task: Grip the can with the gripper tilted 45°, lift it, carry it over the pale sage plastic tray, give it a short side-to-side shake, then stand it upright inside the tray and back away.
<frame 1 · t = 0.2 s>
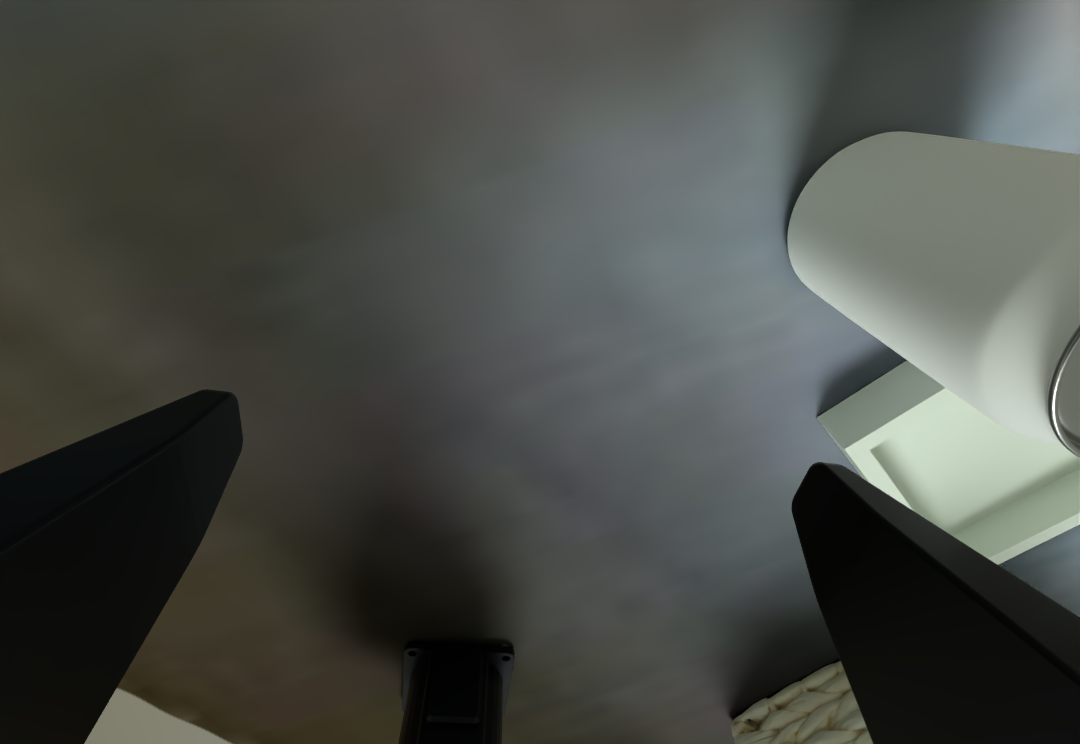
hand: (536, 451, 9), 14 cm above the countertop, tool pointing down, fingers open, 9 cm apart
can: (861, 218, 22), on the countertop
tray: (986, 423, 26), on the countertop
storage basket: (889, 726, 39), on the countertop
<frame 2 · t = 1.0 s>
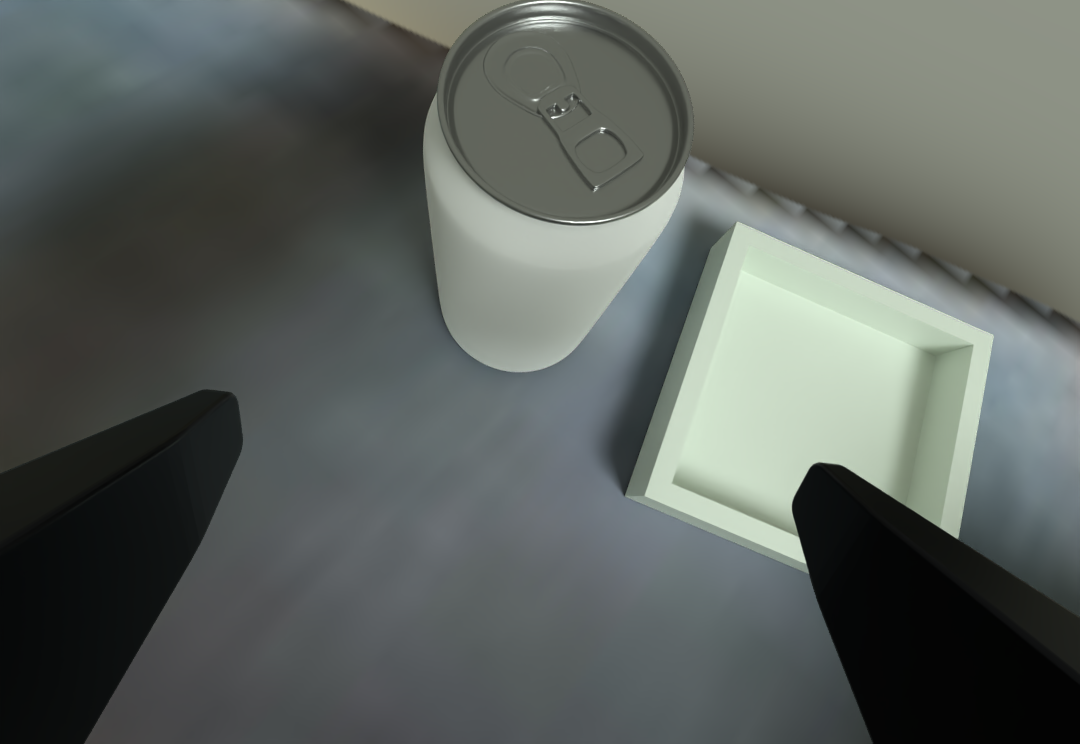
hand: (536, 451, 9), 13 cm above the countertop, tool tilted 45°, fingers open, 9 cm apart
can: (516, 303, 23), on the countertop
tray: (796, 418, 24), on the countertop
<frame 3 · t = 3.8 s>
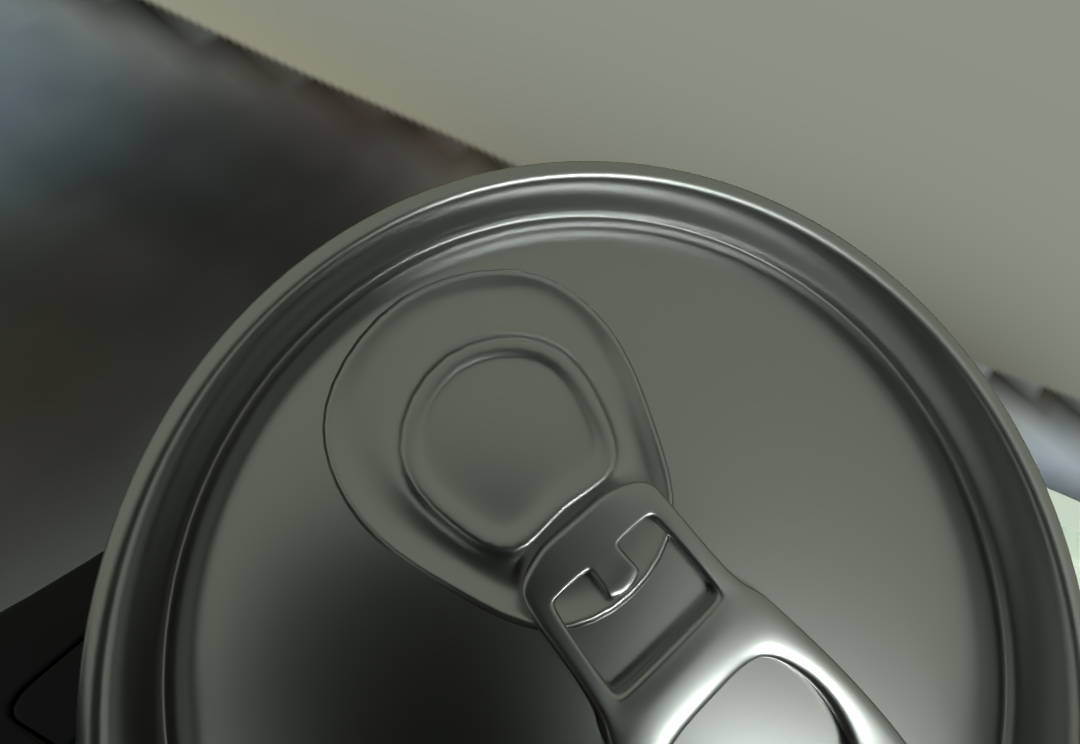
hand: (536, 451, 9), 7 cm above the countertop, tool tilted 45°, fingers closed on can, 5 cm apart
can: (499, 527, 15), on the countertop, touching gripper
tray: (943, 704, 15), on the countertop
when the fingers open (8 cm above the countertop, at t = 9.1 s): can drops 1 cm, resting on tray.
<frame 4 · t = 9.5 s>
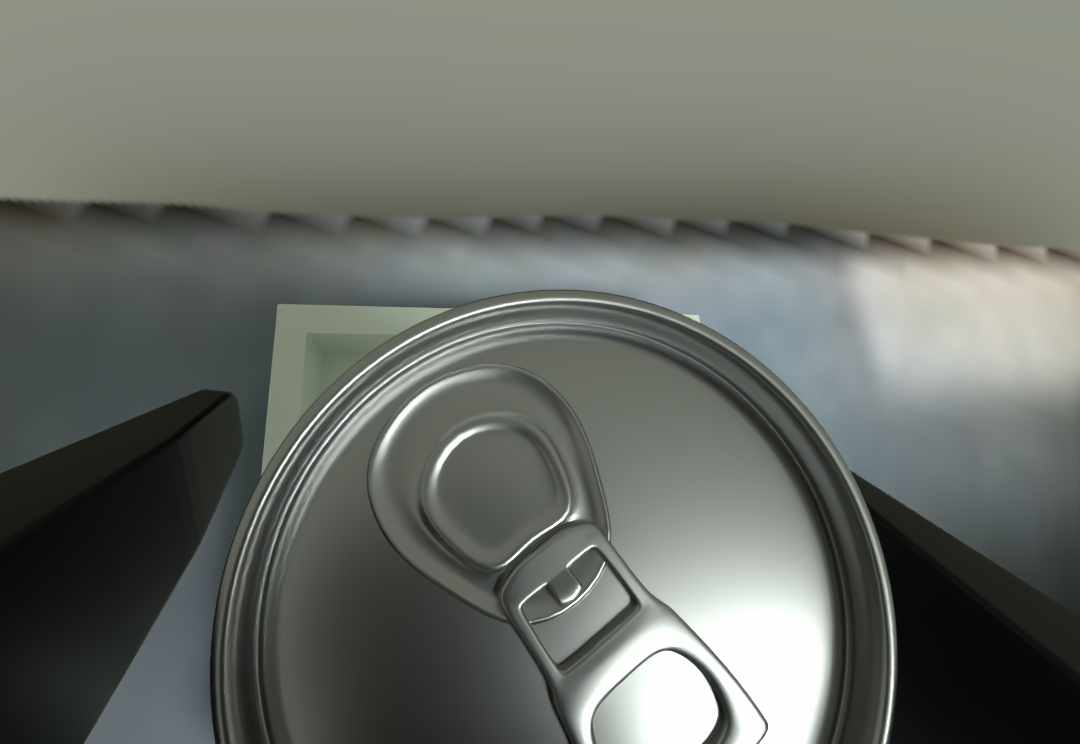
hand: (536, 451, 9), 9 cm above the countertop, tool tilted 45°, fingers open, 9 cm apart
can: (495, 533, 16), resting on tray
tray: (494, 524, 17), on the countertop
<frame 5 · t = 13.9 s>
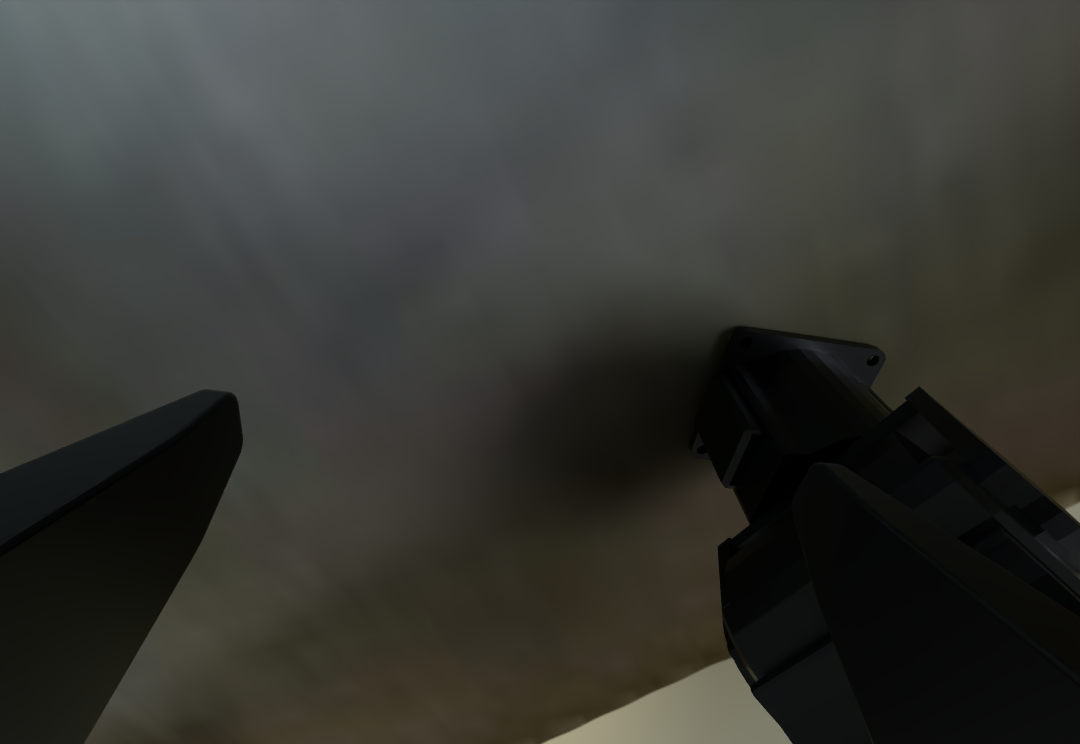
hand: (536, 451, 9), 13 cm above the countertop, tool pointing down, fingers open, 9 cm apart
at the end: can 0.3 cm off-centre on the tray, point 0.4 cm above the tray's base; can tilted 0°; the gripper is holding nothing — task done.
